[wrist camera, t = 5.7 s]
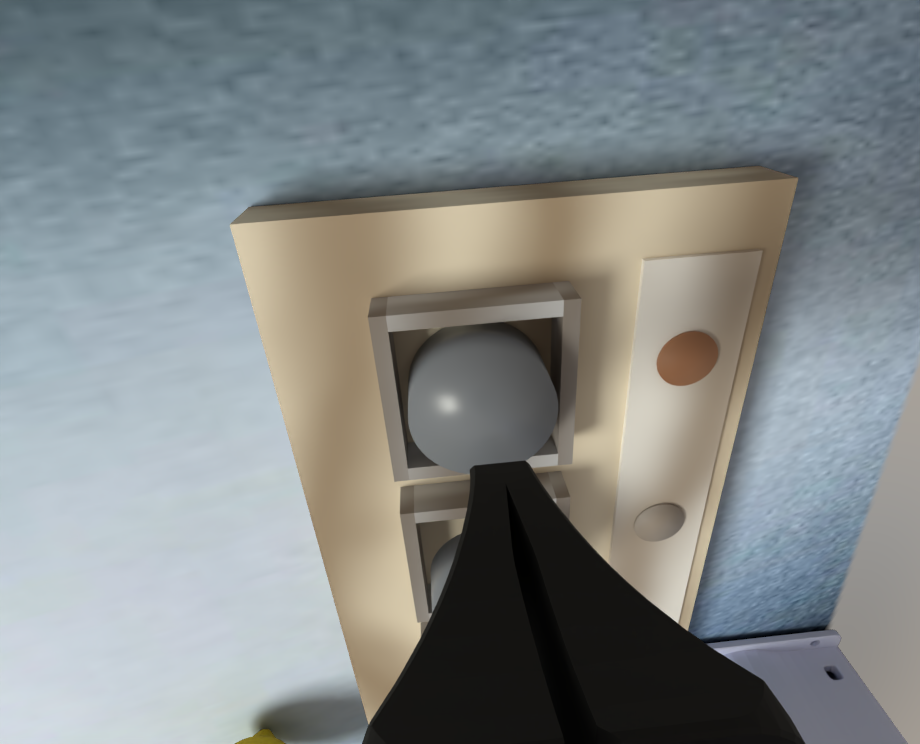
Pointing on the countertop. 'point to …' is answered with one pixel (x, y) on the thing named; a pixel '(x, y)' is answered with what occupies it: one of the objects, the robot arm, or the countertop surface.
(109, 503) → the countertop surface
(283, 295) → the button board
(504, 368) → the button
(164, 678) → the countertop surface
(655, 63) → the countertop surface
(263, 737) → the lemon
